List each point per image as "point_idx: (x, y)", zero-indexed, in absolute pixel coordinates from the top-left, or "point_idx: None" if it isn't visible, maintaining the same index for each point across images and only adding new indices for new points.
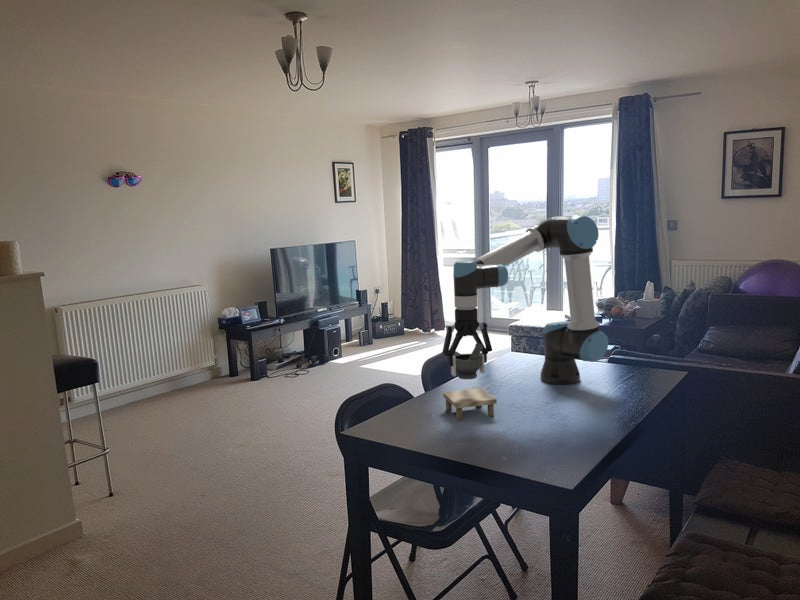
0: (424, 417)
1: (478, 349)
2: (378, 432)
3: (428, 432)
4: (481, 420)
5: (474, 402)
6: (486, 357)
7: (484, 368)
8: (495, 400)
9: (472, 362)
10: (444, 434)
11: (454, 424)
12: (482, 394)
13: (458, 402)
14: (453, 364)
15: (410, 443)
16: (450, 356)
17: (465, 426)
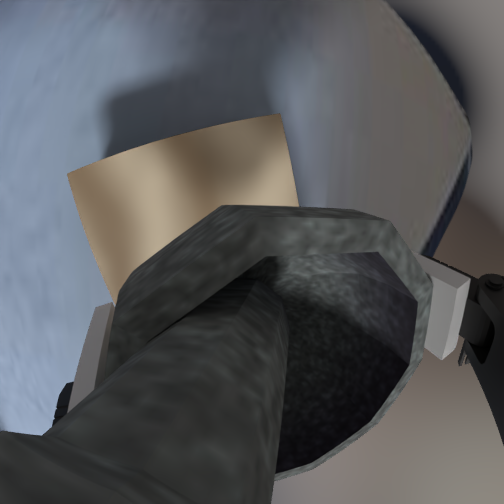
0: (347, 191)
1: (90, 459)
2: (434, 107)
3: (342, 58)
4: (153, 129)
5: (184, 134)
6: (54, 424)
7: (89, 329)
8: (73, 171)
9: (241, 208)
10: (300, 28)
11: (262, 100)
12: (131, 260)
13: (266, 136)
14: (414, 252)
15: (376, 14)
16: (492, 274)
17: (225, 73)
